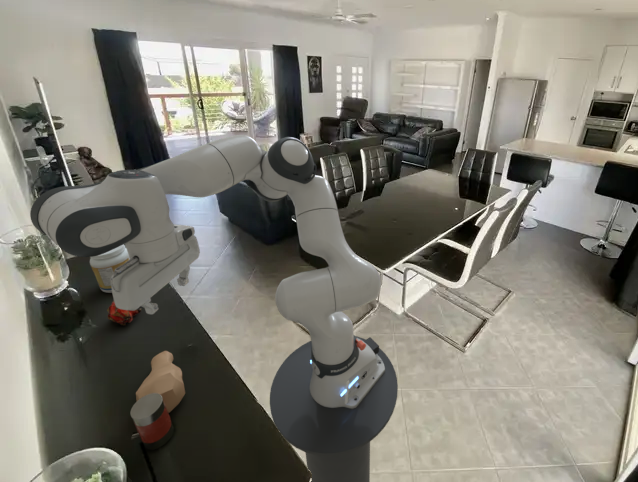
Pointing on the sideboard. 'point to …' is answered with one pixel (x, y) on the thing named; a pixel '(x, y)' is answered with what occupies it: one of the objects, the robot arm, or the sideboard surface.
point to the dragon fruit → (121, 314)
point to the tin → (152, 421)
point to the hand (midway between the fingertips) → (169, 297)
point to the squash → (164, 381)
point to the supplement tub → (108, 266)
